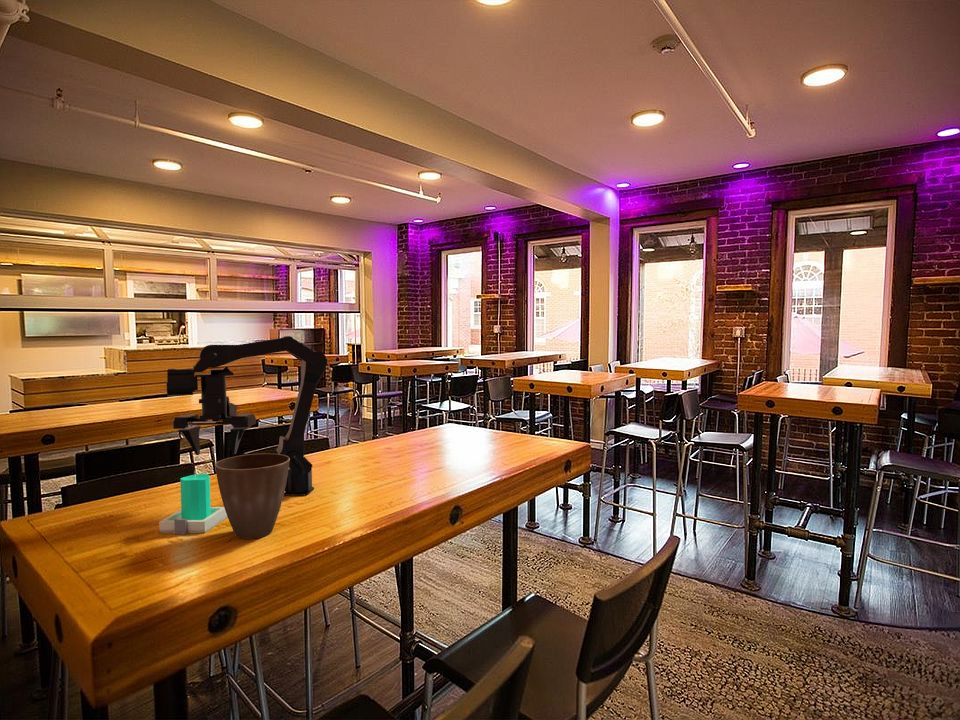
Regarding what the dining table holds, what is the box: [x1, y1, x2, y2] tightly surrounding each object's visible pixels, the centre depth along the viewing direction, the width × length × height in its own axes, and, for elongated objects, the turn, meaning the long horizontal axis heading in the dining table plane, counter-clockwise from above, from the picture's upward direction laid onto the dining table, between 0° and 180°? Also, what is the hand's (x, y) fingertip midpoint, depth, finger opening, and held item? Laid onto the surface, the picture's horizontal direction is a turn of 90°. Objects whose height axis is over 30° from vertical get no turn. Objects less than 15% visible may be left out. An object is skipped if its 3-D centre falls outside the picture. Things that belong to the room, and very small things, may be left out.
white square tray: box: [158, 506, 228, 535], centre depth 120 cm, size 10×11×3 cm
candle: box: [179, 471, 212, 520], centre depth 120 cm, size 6×6×12 cm
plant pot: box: [214, 453, 290, 540], centre depth 115 cm, size 15×15×16 cm
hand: (216, 454), depth 135 cm, fingers open, 9 cm apart
